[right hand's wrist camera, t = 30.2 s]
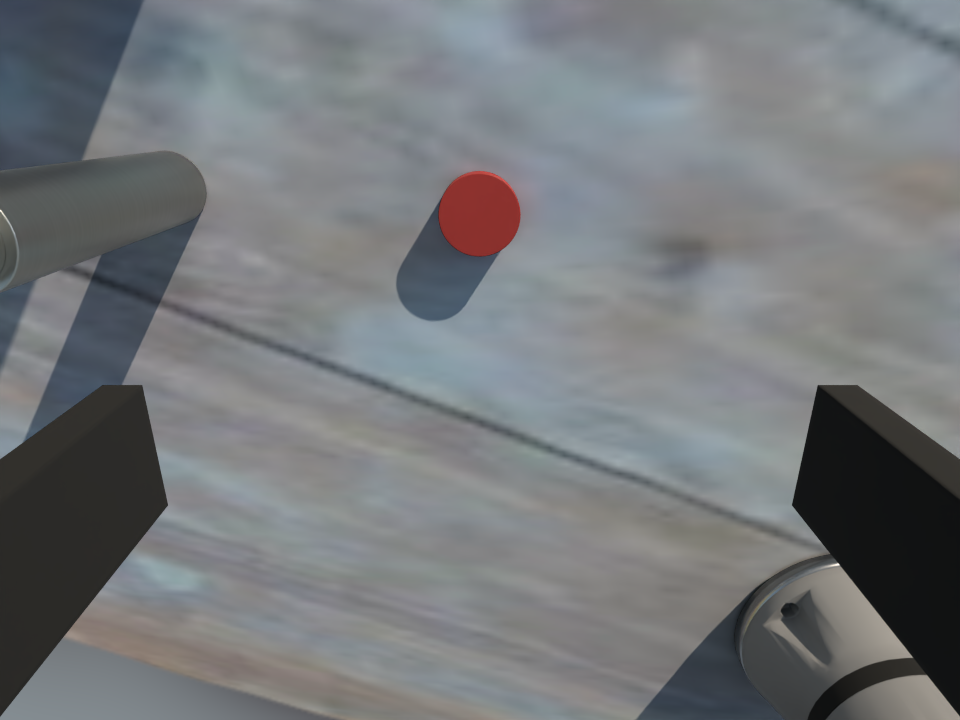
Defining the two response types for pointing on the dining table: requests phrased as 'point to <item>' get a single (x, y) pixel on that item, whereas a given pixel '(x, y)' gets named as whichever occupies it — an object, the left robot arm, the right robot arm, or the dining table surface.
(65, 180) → the gray cylinder
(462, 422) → the dining table surface
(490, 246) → the lid
